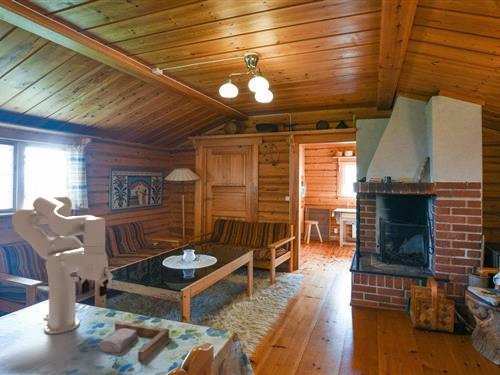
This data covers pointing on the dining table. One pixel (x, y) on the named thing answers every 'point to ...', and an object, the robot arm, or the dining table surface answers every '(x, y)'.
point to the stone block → (118, 340)
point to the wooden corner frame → (155, 332)
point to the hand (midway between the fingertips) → (94, 293)
